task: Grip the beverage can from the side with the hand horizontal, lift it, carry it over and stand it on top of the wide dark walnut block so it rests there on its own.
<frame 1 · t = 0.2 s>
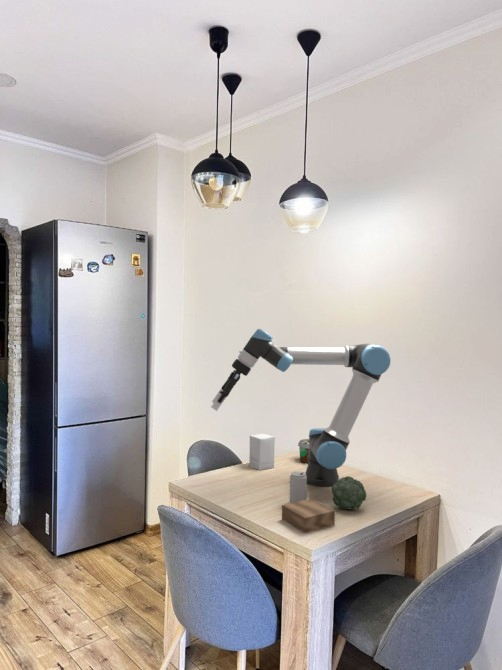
hand: (214, 406, 194), 35 cm above the table, tool tilted 35°, fingers open, 13 cm apart
food container: (303, 461, 241), on the table
beverage can: (297, 504, 183), on the table
walnut block: (307, 522, 167), on the table
supplement box: (261, 467, 230), on the table
vegetable: (347, 507, 182), on the table
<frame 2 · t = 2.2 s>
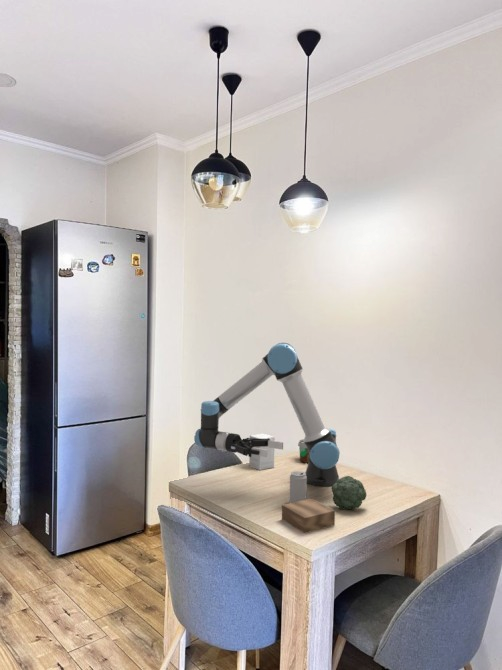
hand: (275, 449, 187), 20 cm above the table, tool horizontal, fingers open, 13 cm apart
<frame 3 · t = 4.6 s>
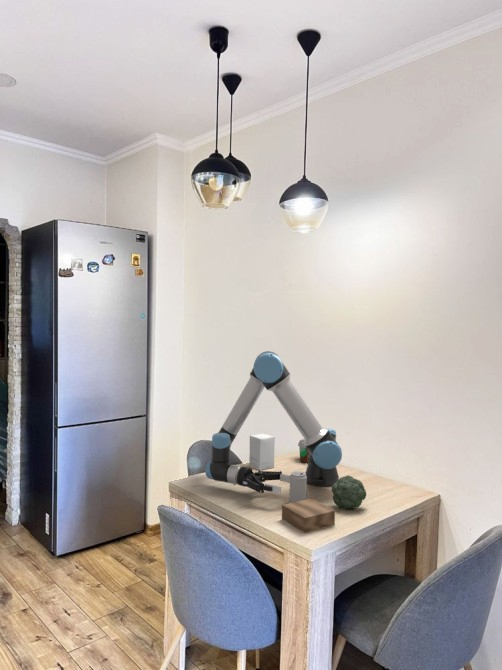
hand: (288, 484, 184), 7 cm above the table, tool horizontal, fingers open, 13 cm apart
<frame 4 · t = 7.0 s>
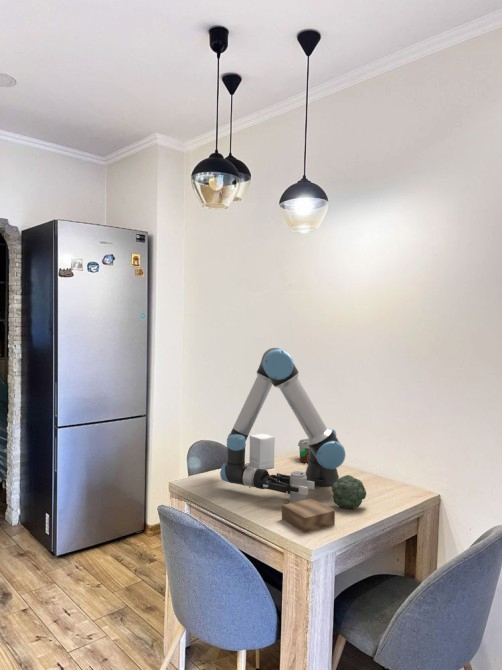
hand: (310, 488, 180), 7 cm above the table, tool horizontal, fingers closed on beverage can, 6 cm apart
beverage can: (297, 504, 183), on the table, touching gripper
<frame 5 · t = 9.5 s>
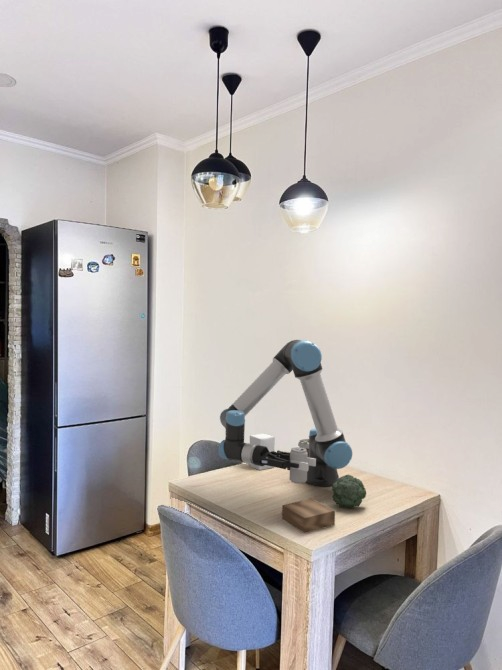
hand: (311, 464, 173), 18 cm above the table, tool horizontal, fingers closed on beverage can, 6 cm apart
beverage can: (298, 482, 175), point 11 cm above the table, touching gripper
when the fingers open (12 cm above the table, at t = 12.2 s): beverage can stays where it is, resting on walnut block.
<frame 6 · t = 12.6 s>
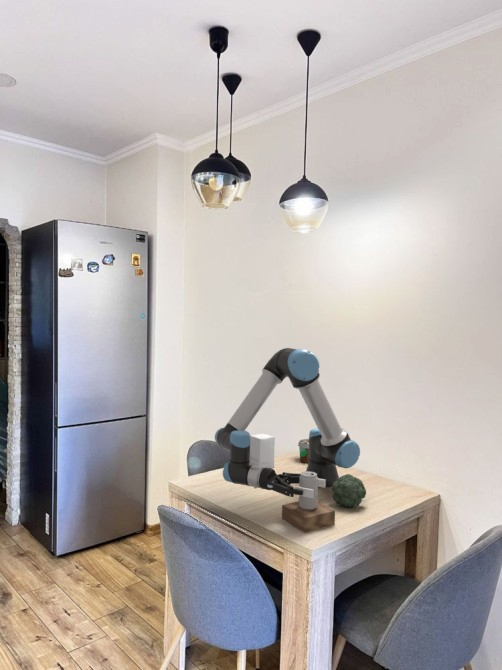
hand: (319, 488, 164), 12 cm above the table, tool horizontal, fingers open, 11 cm apart
beverage can: (307, 508, 167), point 5 cm above the table, touching walnut block
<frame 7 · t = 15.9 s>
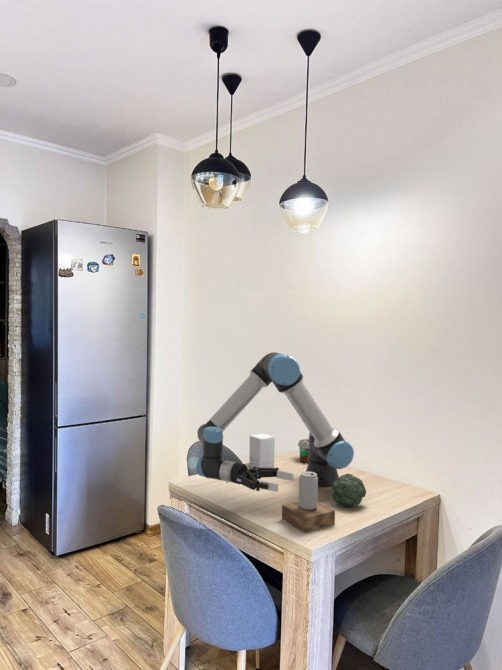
hand: (285, 482, 170), 12 cm above the table, tool horizontal, fingers open, 13 cm apart
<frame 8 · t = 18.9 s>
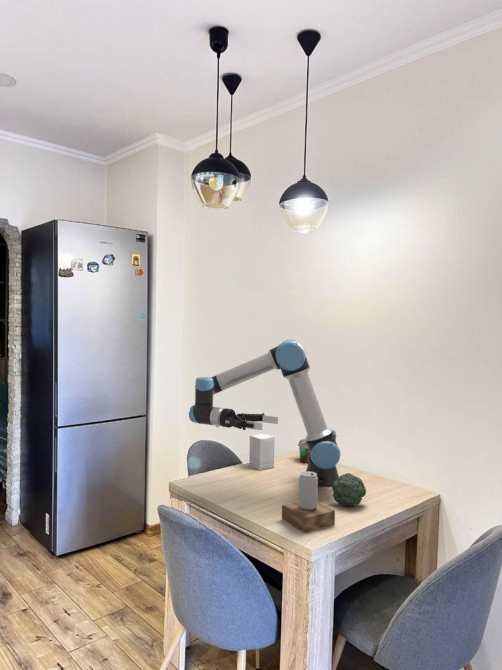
hand: (270, 423, 186), 30 cm above the table, tool horizontal, fingers open, 13 cm apart
at the end: beverage can inside the target area on the walnut block (0.1 cm from its centre), point 4.8 cm above the walnut block's base; beverage can tilted 0°; the gripper is holding nothing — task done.
